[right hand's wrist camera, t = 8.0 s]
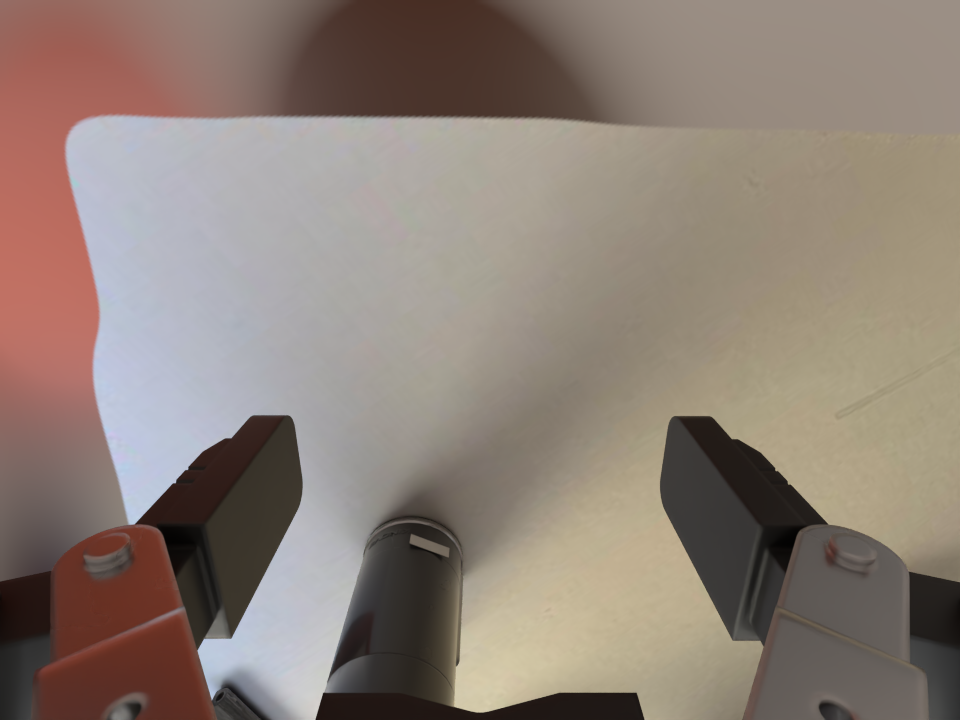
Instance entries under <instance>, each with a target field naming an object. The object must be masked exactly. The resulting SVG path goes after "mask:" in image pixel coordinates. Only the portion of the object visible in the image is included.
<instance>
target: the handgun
mask: <svg viewBox="0 0 960 720" xmlns="http://www.w3.org/2000/svg"><path fill="white" fill-rule="evenodd" d="M212 703H213V707H214V710H215V713H216V717H217V720H261V719H260V718H259V717H258V716H257V715H256V714H255V713H253V712H252V711H251V710H250V709H249V708H248V707H247V706H246V705H245V704H244V703H243V702H242V701H241V700H240V699H239V698H238V697H237V696H236V695H235V694H234V693H232V692H231V691H230V690H229V689H228V688H224V689H221V690H219V691H217V692H216V694H215V696H214V698H213V700H212Z"/></svg>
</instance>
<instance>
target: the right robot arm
mask: <svg viewBox="0 0 960 720" xmlns="http://www.w3.org/2000/svg"><path fill="white" fill-rule="evenodd" d="M188 468H189V469H188V470H185V471H184V472H183V473H182V475H181V476H180V477H179V478H178V479H177V480H176V483H173V484H172V485H171V486H170V487H169V488H168V489H167V491H166V492H165V493H164V494H163V495H162V496H161V497H160V498H159V499H158V500H157V501H156V502H155V503H154V504H153V505H152V507H151V508H150V509H149V510H148V511H147V512H146V513H145V514H144V515H143V516H142V517H141V518H140V519H139V520H138V521H137V523H136V524H135V525H126V526H120V527H116V528H112V529H109V530H106V531H103V532H100V533H98V534H95V535H93V536H91V537H89V538H87V539H85V540H83V541H81V542H80V543H78V544H77V545H75V546H74V547H72V548H71V549H70V550H68V551H67V552H66V553H65V554H64V555H63V556H62V557H61V558H60V559H59V560H58V561H57V562H56V564H55V565H54V567H53V569H52V571H49V572H44V573H39V574H34V575H30V576H25V577H20V578H15V579H11V580H6V581H1V582H0V720H217V717H216V713H215V710H214V707H213V703H212V700H211V696H210V693H209V689H208V686H207V683H206V679H205V676H204V672H203V669H202V665H201V662H200V659H199V655H198V652H197V650H198V648H199V647H200V645H201V643H202V641H203V640H204V639H231V638H232V636H233V634H234V632H235V630H236V628H237V626H238V624H239V623H240V621H241V619H242V617H243V615H244V613H245V611H246V609H247V607H248V605H249V603H250V601H251V599H252V597H253V595H254V593H255V591H256V590H257V588H258V586H259V584H260V582H261V580H262V578H263V576H264V574H265V572H266V570H267V568H268V566H269V564H270V562H271V560H272V559H273V557H274V555H275V553H276V551H277V549H278V547H279V545H280V543H281V541H282V539H283V537H284V535H285V533H286V531H287V529H288V527H289V526H290V524H291V522H292V520H293V518H294V516H295V514H296V512H297V510H298V508H299V505H300V502H301V497H302V488H303V482H302V473H301V466H300V459H299V452H298V445H297V439H296V432H295V426H294V422H293V419H292V418H291V417H290V416H288V415H254V416H251V417H250V418H249V419H248V420H247V421H246V422H245V424H244V425H243V426H242V427H241V428H240V429H239V430H238V432H237V433H236V434H235V435H234V436H233V437H232V438H225V439H224V440H222V441H220V442H218V443H217V444H215V445H213V446H212V447H210V448H208V449H207V450H205V451H203V452H202V453H201V454H200V455H199V456H198V457H197V459H196V460H195V461H194V462H193V463H192V464H191V465H190V466H189V467H188ZM660 493H661V499H662V504H663V507H664V509H665V511H666V513H667V515H668V517H669V519H670V521H671V523H672V525H673V527H674V529H675V531H676V533H677V534H678V536H679V538H680V540H681V542H682V544H683V546H684V548H685V550H686V552H687V554H688V556H689V557H690V559H691V561H692V563H693V565H694V567H695V569H696V571H697V573H698V575H699V577H700V579H701V580H702V582H703V584H704V586H705V588H706V590H707V592H708V594H709V596H710V598H711V600H712V602H713V603H714V605H715V607H716V609H717V611H718V613H719V615H720V617H721V619H722V621H723V623H724V625H725V626H726V628H727V630H728V632H729V634H730V636H731V638H732V640H733V641H761V643H762V644H763V646H764V648H763V652H762V655H761V659H760V662H759V665H758V669H757V672H756V676H755V679H754V683H753V686H752V689H751V693H750V696H749V700H748V703H747V707H746V710H745V713H744V717H743V720H960V582H955V581H950V580H946V579H941V578H936V577H931V576H927V575H922V574H917V573H912V572H909V571H908V569H907V567H906V565H905V564H904V562H903V561H902V560H901V559H900V558H899V557H898V556H897V555H896V554H895V553H894V552H893V551H892V550H890V549H889V548H888V547H886V546H885V545H883V544H882V543H880V542H879V541H877V540H875V539H873V538H871V537H869V536H867V535H865V534H862V533H860V532H857V531H854V530H851V529H848V528H844V527H840V526H835V525H828V523H827V522H826V521H825V520H824V519H823V518H822V517H821V516H820V515H819V514H818V513H817V512H816V511H815V510H814V509H813V508H812V507H811V505H810V504H809V503H808V502H807V501H806V500H805V499H804V498H803V497H802V496H801V495H800V494H799V493H798V492H797V491H796V490H795V489H794V488H793V486H792V485H788V481H787V480H786V479H785V478H784V477H783V476H782V475H781V474H780V473H779V472H778V471H775V467H774V466H773V465H772V464H771V463H770V462H769V461H768V460H767V459H766V458H765V457H764V456H763V455H762V454H761V453H760V452H759V451H757V450H755V449H753V448H752V447H750V446H748V445H747V444H745V443H743V442H742V441H740V440H738V439H731V438H730V437H729V435H728V434H727V433H726V432H725V431H724V430H723V429H722V428H721V426H720V425H719V424H718V423H717V422H716V421H715V420H714V419H713V418H712V417H710V416H674V417H672V419H671V420H670V422H669V426H668V431H667V438H666V445H665V452H664V458H663V465H662V472H661V479H660ZM462 559H463V557H462V550H461V547H460V544H459V542H458V540H457V539H456V537H455V536H454V535H453V534H452V533H451V532H450V531H449V530H448V529H447V528H445V527H444V526H442V525H440V524H438V523H436V522H434V521H431V520H428V519H424V518H418V517H405V518H398V519H395V520H392V521H389V522H387V523H385V524H383V525H381V526H380V527H379V528H377V529H376V530H375V531H374V532H373V533H372V534H371V536H370V537H369V539H368V541H367V544H366V547H365V550H364V556H363V561H362V564H361V568H360V571H359V574H358V578H357V581H356V585H355V588H354V591H353V595H352V598H351V602H350V605H349V609H348V612H347V616H346V619H345V623H344V626H343V630H342V633H341V637H340V640H339V644H338V647H337V650H336V654H335V657H334V661H333V664H332V668H331V671H330V675H329V678H328V682H327V686H326V689H325V693H323V696H322V699H321V703H320V706H319V710H318V713H317V716H316V720H644V716H643V713H642V710H641V706H640V703H639V699H638V696H637V693H557V694H553V695H549V696H546V697H542V698H538V699H534V700H531V701H527V702H523V703H519V704H516V705H512V706H508V707H504V708H501V709H497V710H493V711H489V712H484V713H476V712H471V711H467V710H463V709H459V708H456V707H454V692H455V673H456V666H457V665H458V664H459V660H460V637H461V614H462V591H463V576H462V575H461V569H462Z"/></svg>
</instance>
